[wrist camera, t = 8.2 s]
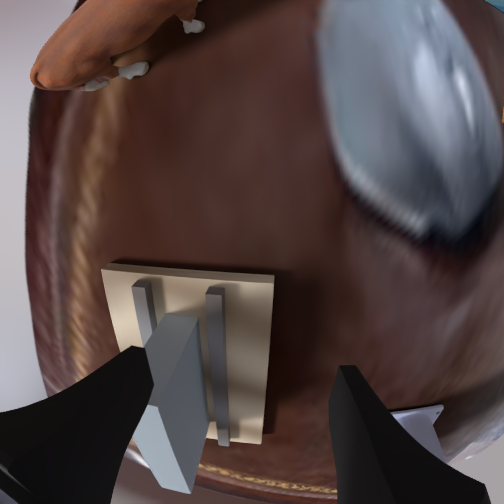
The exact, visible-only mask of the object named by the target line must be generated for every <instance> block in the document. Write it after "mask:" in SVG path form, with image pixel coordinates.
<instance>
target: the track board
mask: <svg viewBox="0 0 504 504" xmlns="http://www.w3.org/2000/svg"><path fill="white" fill-rule="evenodd" d="M101 271H102V277H103V282H104V287H105V292H106V297H107V301H108V306H109V310H110V314H111V318H112V322H113V326H114V330H115V334H116V338H117V341H118V345H119V348H120V352H122V351H124V350H125V349H127V348H128V347H130V346H131V345H133V346H138V347H144V346H145V344H146V343H147V341H148V339H149V338H150V336H151V335H152V333H153V332H154V330H155V329H156V327H157V326H158V324H159V322H160V321H161V319H162V318H163V316H164V315H165V313H166V314H174V315H182V316H191V317H199V328H200V339H201V350H202V360H203V369H204V378H205V387H206V395H207V403H208V411H209V418H210V424H209V428H208V432H207V436H206V438H212V439H218V444H219V445H222V446H229V444H230V441H235V442H244V443H255V444H261V439H262V429H263V418H264V407H265V396H266V384H267V372H268V360H269V347H270V334H271V320H272V305H273V290H274V275H260V274H245V273H229V272H215V271H201V270H187V269H174V268H162V267H149V266H137V265H126V264H115V263H109V264H108V265H106V266H105V267H104V268H102V269H101Z"/></svg>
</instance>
